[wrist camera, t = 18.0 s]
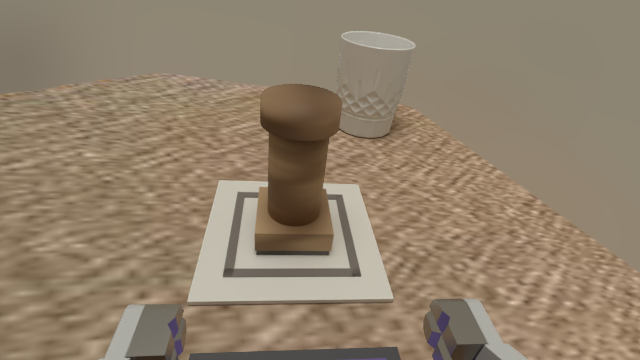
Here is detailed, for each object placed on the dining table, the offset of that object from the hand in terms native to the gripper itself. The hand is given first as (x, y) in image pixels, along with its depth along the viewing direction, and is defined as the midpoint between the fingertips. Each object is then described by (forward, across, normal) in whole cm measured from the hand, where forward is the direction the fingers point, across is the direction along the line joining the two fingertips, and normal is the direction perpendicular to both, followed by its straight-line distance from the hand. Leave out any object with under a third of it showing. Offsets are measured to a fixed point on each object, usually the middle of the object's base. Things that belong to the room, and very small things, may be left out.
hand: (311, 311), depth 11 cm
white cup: (+31, +9, -8) cm, 33 cm away
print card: (+12, 0, -8) cm, 14 cm away
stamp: (+12, 0, -7) cm, 14 cm away
